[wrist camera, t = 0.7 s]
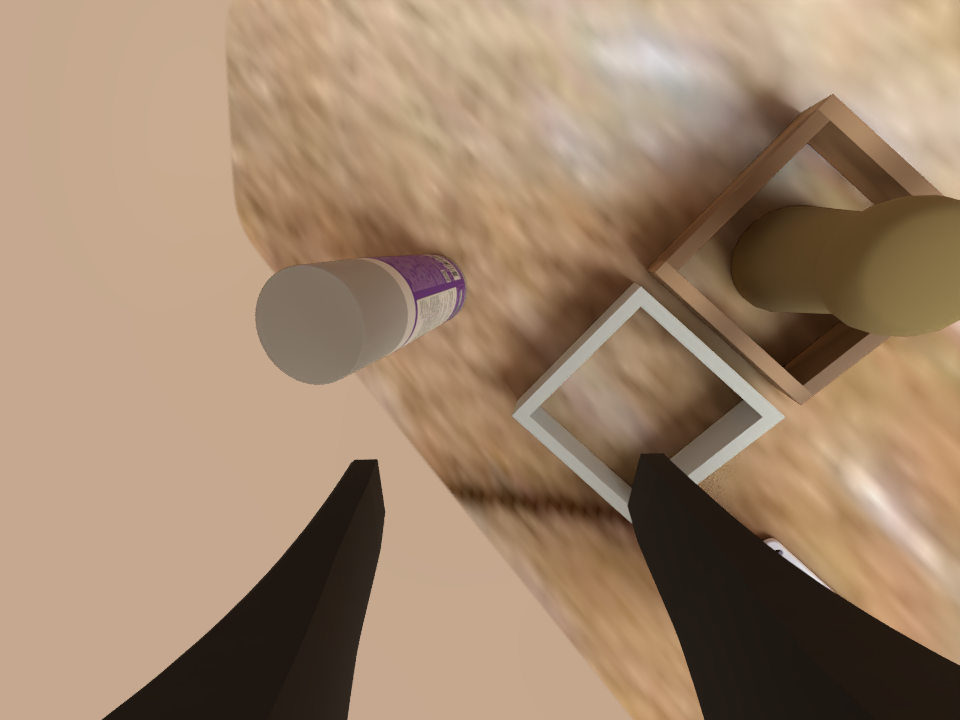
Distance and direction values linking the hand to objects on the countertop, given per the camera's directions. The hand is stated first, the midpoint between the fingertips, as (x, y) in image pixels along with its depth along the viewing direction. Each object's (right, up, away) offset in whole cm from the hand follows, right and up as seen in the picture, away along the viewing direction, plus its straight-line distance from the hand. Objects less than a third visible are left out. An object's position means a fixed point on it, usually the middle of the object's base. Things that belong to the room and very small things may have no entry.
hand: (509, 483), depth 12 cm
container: (-4, +8, +18) cm, 20 cm away
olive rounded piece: (+17, +9, +13) cm, 24 cm away
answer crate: (+9, +1, +17) cm, 19 cm away
